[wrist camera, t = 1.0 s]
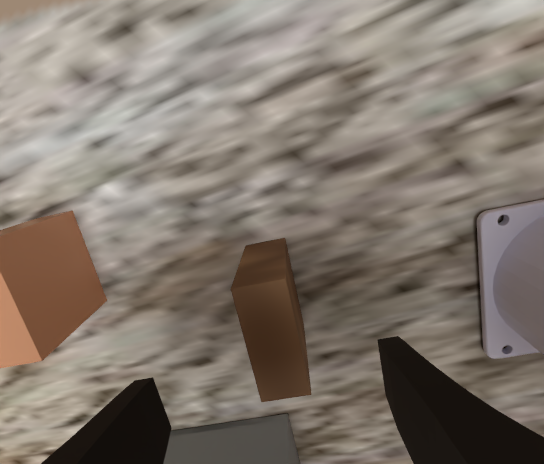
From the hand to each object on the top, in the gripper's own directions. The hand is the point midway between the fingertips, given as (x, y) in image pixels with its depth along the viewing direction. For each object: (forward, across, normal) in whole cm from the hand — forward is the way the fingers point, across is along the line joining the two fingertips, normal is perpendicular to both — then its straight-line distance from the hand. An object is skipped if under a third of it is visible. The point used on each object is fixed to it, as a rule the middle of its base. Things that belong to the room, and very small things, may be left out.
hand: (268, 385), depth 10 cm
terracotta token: (+7, +10, -4) cm, 13 cm away
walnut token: (+7, 0, 0) cm, 7 cm away
